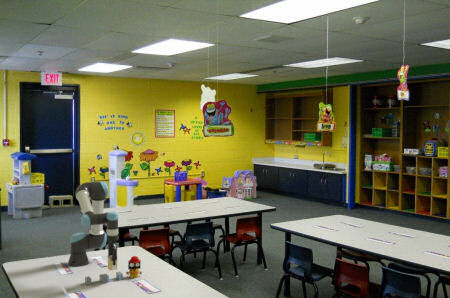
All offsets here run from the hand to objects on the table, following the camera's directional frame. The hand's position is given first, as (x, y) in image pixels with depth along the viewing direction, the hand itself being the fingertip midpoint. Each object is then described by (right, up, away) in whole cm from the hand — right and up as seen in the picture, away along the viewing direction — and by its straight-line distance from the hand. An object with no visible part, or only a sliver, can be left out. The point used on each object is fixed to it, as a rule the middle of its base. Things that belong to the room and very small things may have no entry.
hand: (112, 268), depth 307 cm
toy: (+13, -9, +10) cm, 19 cm away
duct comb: (-5, -9, -2) cm, 11 cm away
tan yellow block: (0, 0, 0) cm, 0 cm away
